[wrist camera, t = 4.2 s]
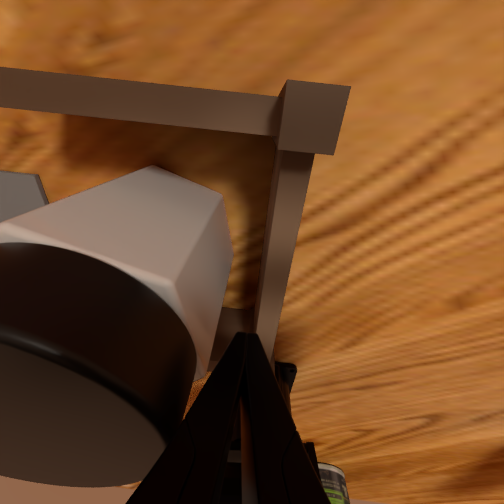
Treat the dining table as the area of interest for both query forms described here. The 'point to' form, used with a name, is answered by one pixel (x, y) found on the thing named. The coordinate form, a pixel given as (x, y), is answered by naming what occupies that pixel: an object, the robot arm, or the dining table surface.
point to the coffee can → (334, 483)
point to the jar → (107, 325)
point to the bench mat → (20, 194)
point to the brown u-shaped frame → (225, 119)
